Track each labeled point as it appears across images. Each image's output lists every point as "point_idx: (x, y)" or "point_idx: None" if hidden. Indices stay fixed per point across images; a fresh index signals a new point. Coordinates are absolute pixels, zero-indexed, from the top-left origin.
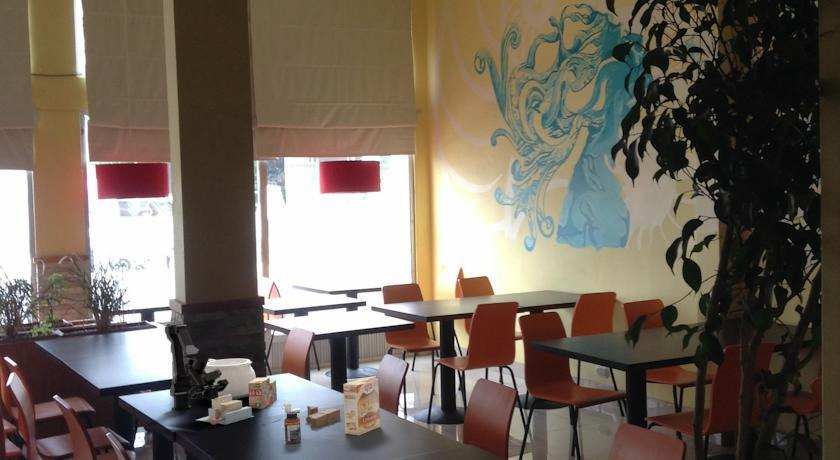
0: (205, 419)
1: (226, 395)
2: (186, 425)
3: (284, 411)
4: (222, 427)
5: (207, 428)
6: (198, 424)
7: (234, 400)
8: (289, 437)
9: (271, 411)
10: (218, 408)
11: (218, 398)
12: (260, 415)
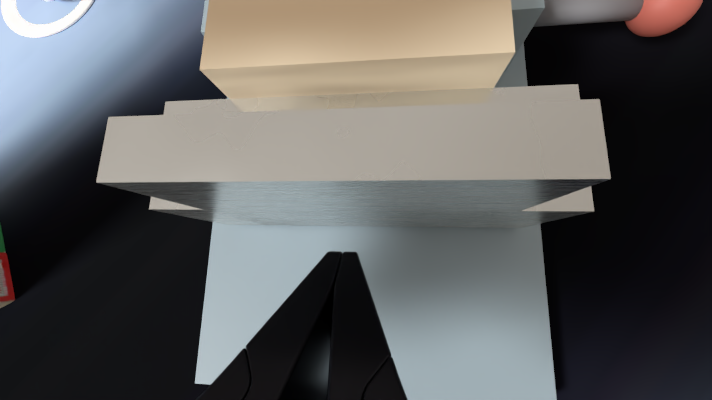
0: (489, 316)
1: (195, 158)
2: (683, 384)
3: (34, 25)
4: (539, 34)
5: (631, 109)
6: (585, 297)
7: (227, 56)
8: None
9: (46, 97)
10: (510, 89)
11: (462, 107)
12: (158, 76)
